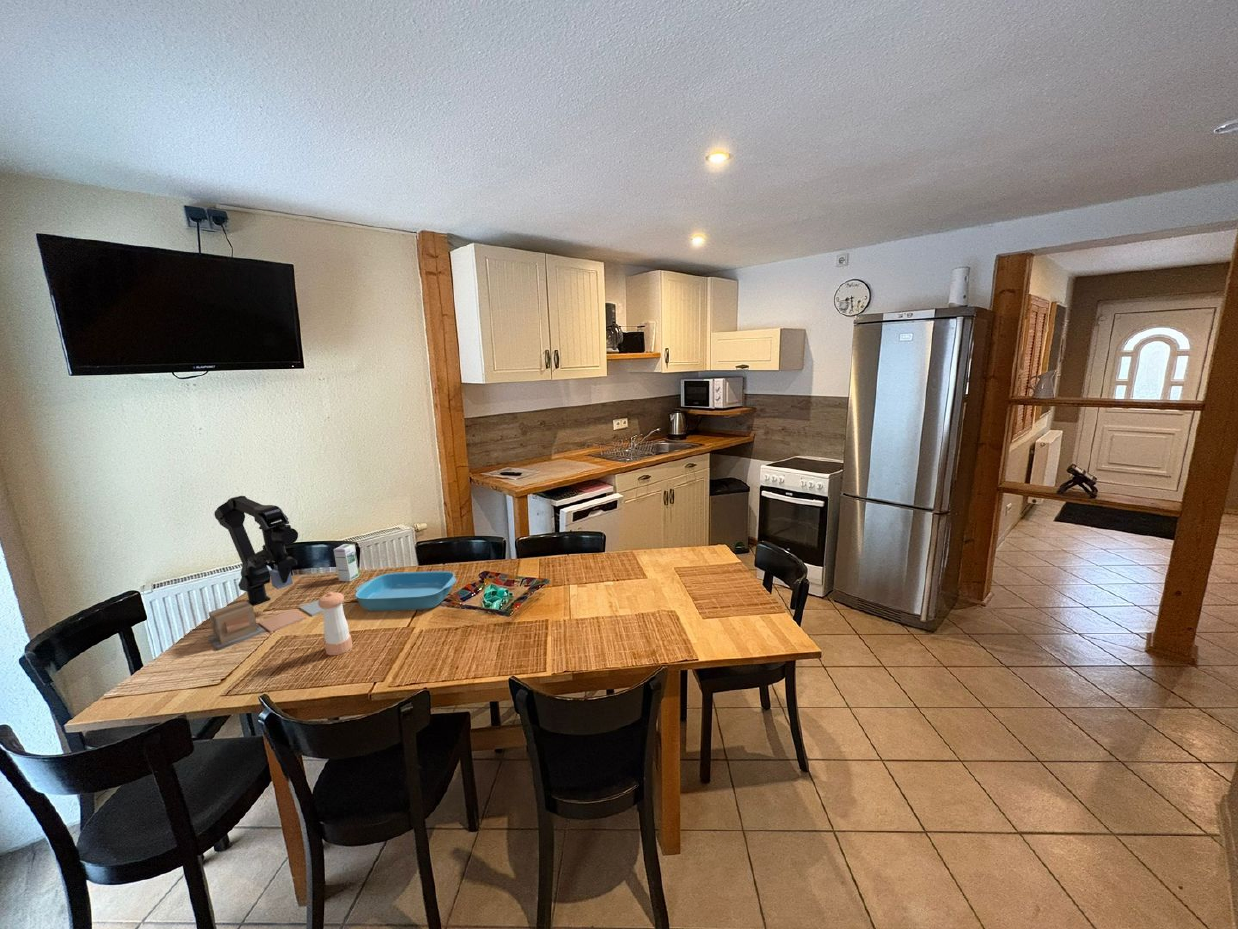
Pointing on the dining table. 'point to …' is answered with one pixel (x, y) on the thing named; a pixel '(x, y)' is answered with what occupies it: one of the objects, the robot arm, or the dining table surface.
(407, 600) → the casserole dish
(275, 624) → the terracotta mat
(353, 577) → the syrup box
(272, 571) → the block
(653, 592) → the dining table surface
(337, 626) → the salt shaker
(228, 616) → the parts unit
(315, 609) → the grey mat
